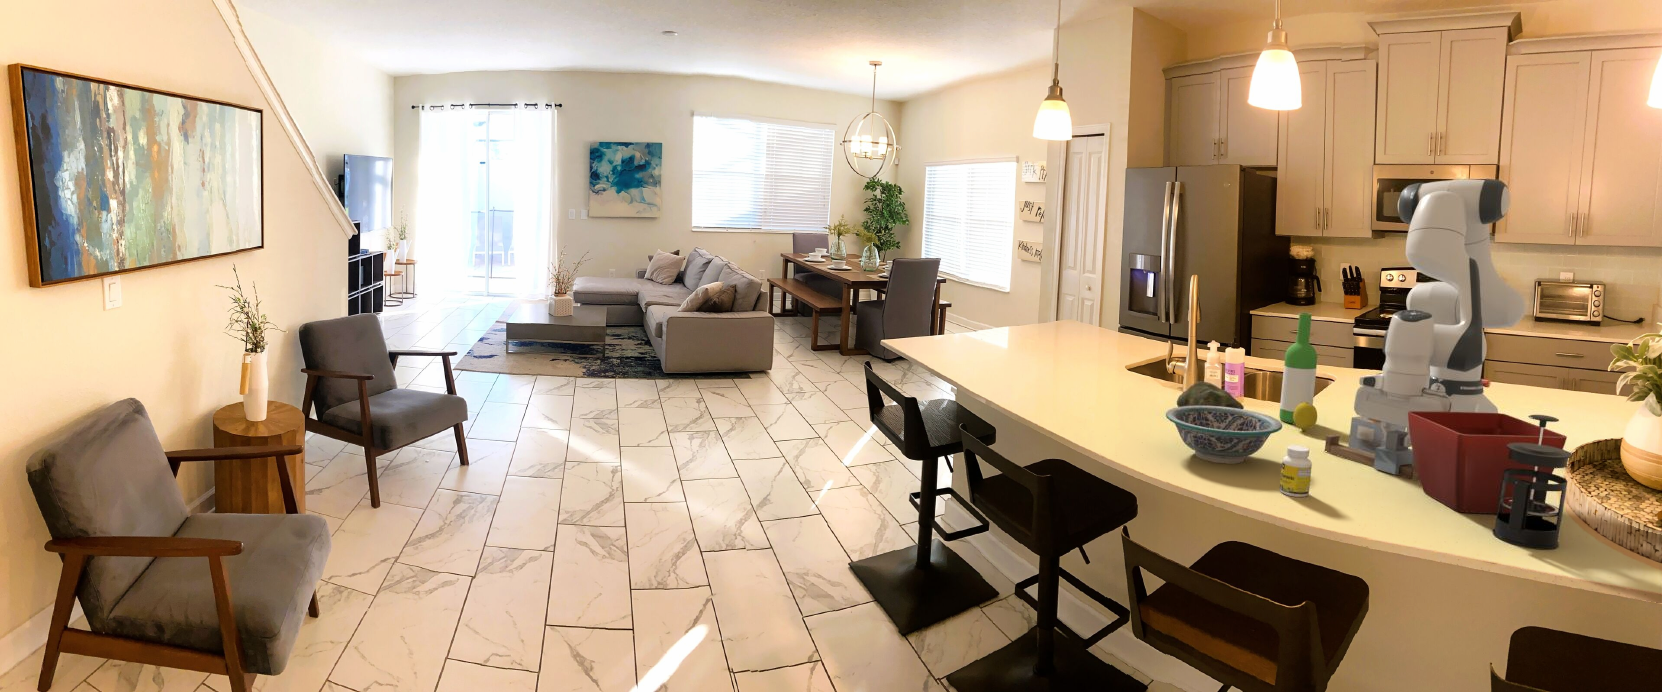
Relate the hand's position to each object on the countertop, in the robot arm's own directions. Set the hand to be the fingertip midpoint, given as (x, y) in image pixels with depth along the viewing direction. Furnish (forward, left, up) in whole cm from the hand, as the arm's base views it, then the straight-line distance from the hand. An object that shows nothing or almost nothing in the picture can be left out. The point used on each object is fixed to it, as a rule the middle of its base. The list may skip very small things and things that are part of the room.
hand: (1397, 444), depth 192 cm
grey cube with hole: (-10, -12, -6) cm, 17 cm away
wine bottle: (-16, -40, -6) cm, 44 cm away
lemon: (-10, -32, -6) cm, 34 cm away
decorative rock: (+2, -53, -7) cm, 53 cm away
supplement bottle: (+34, +3, -6) cm, 35 cm away
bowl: (+29, -22, -6) cm, 37 cm away
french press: (+16, +36, -6) cm, 40 cm away
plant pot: (+5, +20, -7) cm, 22 cm away
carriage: (0, 0, -6) cm, 6 cm away
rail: (0, -5, -6) cm, 8 cm away
